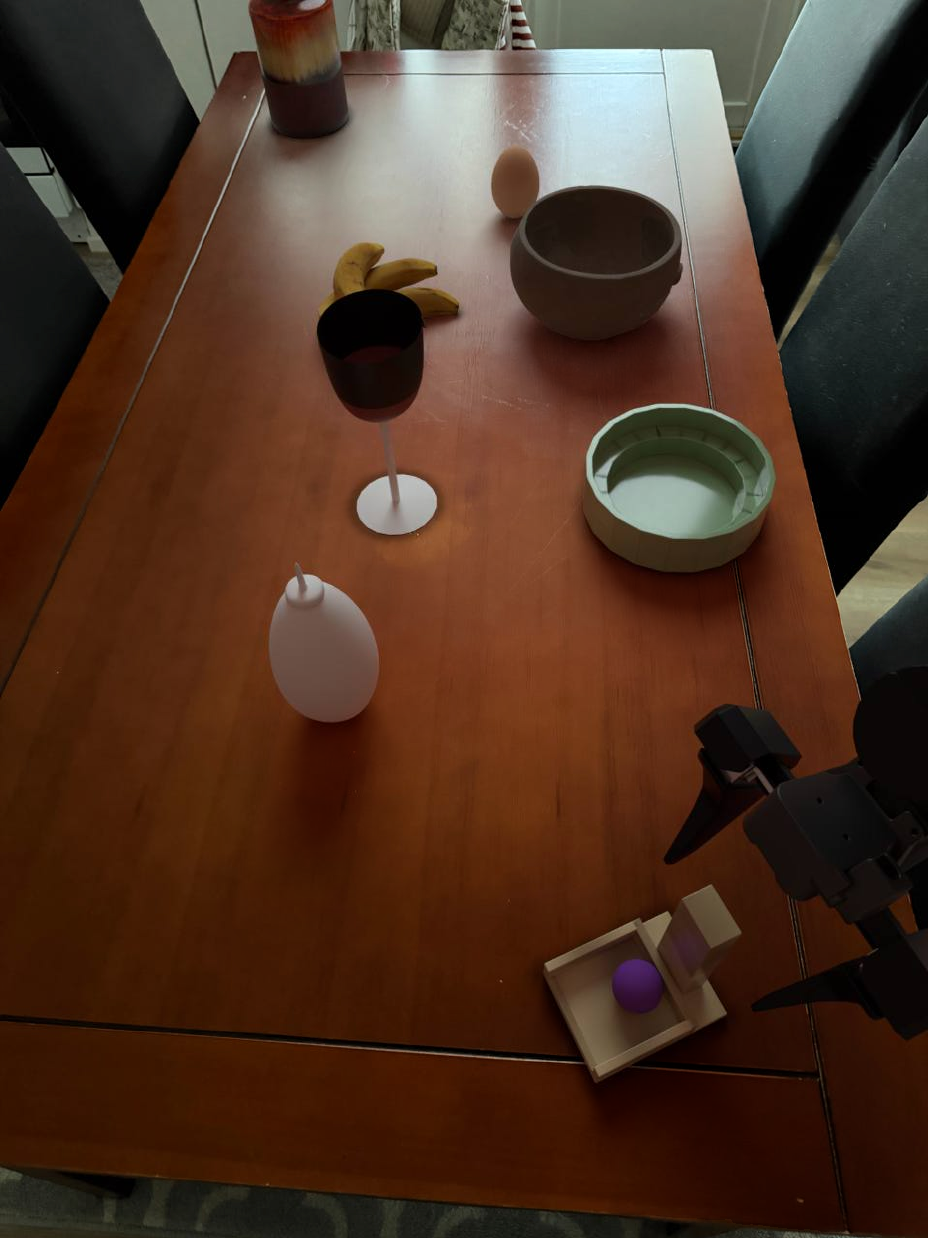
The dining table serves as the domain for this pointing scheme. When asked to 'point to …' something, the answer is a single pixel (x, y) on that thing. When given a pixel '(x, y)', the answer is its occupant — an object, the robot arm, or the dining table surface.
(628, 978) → the ball
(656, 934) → the scoop
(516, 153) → the egg
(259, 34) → the vase
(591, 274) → the bowl
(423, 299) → the banana
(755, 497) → the green bowl
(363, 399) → the wineglass
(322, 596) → the sauce bottle
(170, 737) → the dining table surface
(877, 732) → the robot arm
